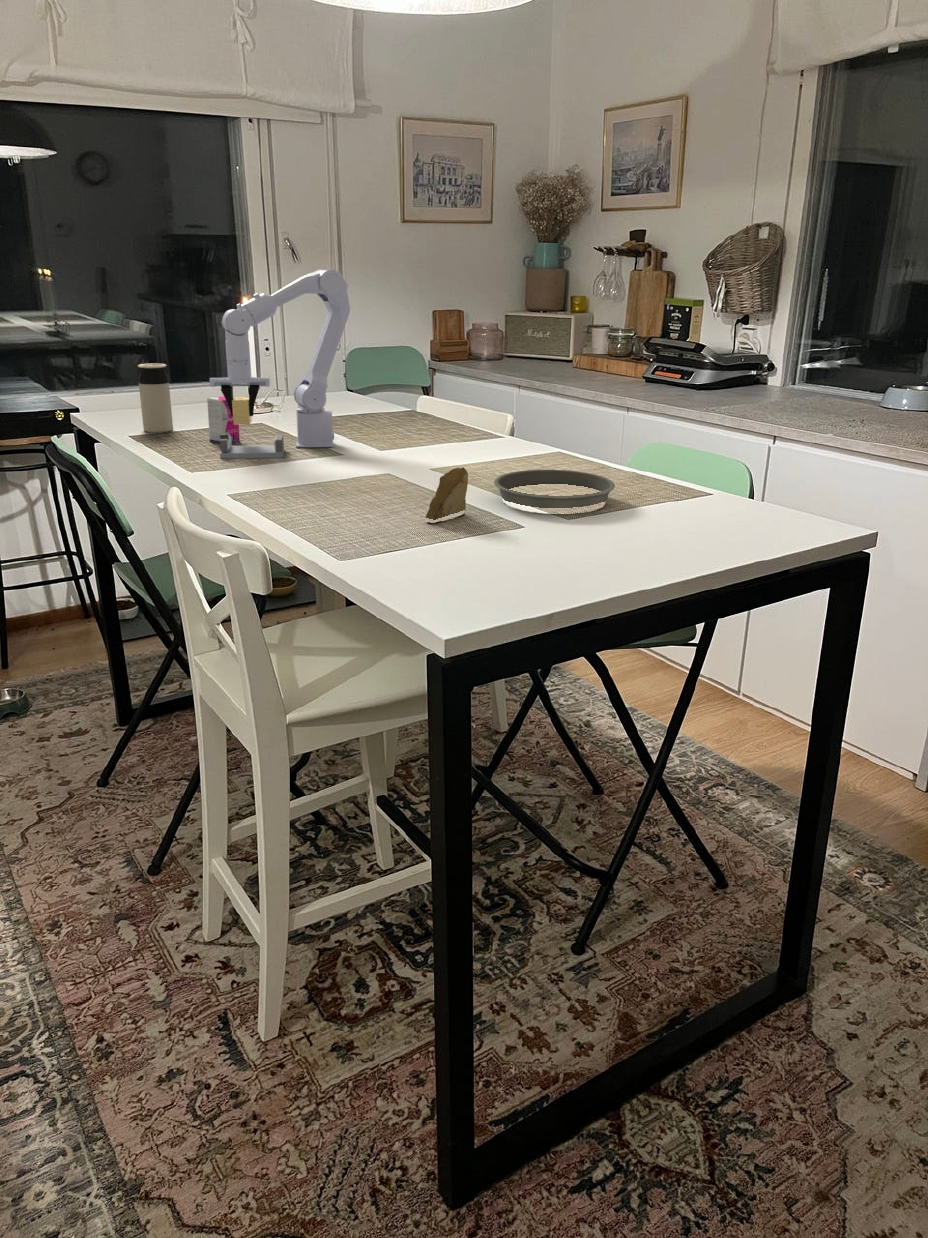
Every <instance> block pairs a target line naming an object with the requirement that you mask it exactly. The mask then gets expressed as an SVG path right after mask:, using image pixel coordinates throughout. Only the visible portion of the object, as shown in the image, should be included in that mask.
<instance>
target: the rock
mask: <svg viewBox="0 0 928 1238" xmlns="http://www.w3.org/2000/svg"><path fill="white" fill-rule="evenodd" d="M468 484H469V472H468V471H467V470H466V468H465V467H464V466H463V467H455V468H452V469H450V470H449V471H447V472H445V474H443V475H441V476H440V477H439V483H438V486H437V489H436V492H435V495H434V497H432V499H431V501H430V504H429V508H428V511H427V512H426V514H425V518H429V519H433V520H436V519H438V518H442V517H445V516H448V515H450V514H454V513H458V512H460V511H463V510H465V511H466V508H467V507H466V506H467V505H466V496H467V491H468Z"/></svg>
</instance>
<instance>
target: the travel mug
mask: <svg viewBox="0 0 928 1238" xmlns="http://www.w3.org/2000/svg"><path fill="white" fill-rule="evenodd" d="M137 367H138V368H139V369H138V370H139V374H138V377H137V380H138V390H139V399H140V408H141V416H142V417H141V418H142V427H143V431H145V432H146V431H147V433H151V432H161V433H168V432H167V431H169V432H171V431H172V430H173V429H174V425H173V424H174V423H173V414H172V411H173V410H172V402H171V390H170V382H169V375H168V374H167V372H166V368H167V364H165V363H140V364H138V365H137Z"/></svg>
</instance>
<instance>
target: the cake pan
mask: <svg viewBox="0 0 928 1238" xmlns="http://www.w3.org/2000/svg"><path fill="white" fill-rule="evenodd" d="M493 483H494V485H495V487H496V488H498V489H499V493H500V496H501V497H502V498H503V499H504V500H505V501H508V502H513V503H516V504H520V505H525V506H531V507H539V508H573V507H583V506H590V505H594V504H598V503H601V502H605V501H606V500H607V501H608V497H609V494H610V492H612V491H613V490H614V489H615V487H616V485H615V483H614V482H613V481H612V480H611V479H609V478H608V477H605V476H602V475H600V474H594V473H590V472H584V471H577V470H567V469H528V470H517V471H513V472H512V471H511V472H508V473H503V474H502V475H499V476H498V477H496V478H495V479H494V481H493ZM538 484H568V485H576V486H584V487H588V488H593V489H596V490H599V491H601V492H597V493H593V494H585V495H573V496H549V495H535V494H527V493H521V492H517V491H513V490H509V489H511V488H514V487H519V486H526V485H538ZM502 498H501V499H502ZM607 501H606V502H607Z"/></svg>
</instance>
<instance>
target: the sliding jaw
mask: <svg viewBox="0 0 928 1238" xmlns="http://www.w3.org/2000/svg"><path fill="white" fill-rule="evenodd" d="M220 438H221V440H220V443H219V444H220V452H227V451H228V450H229V448H230V446H232V443H233V442H231V435H230V434H229V433H221V434H220Z"/></svg>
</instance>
